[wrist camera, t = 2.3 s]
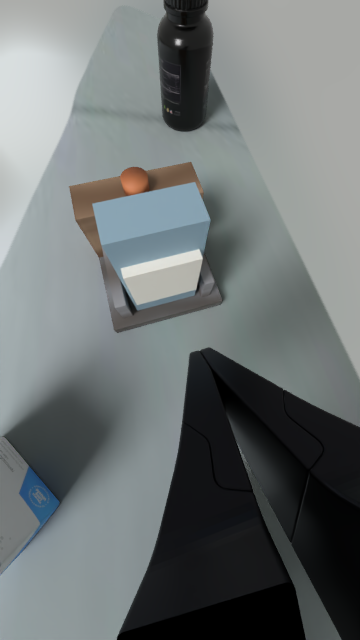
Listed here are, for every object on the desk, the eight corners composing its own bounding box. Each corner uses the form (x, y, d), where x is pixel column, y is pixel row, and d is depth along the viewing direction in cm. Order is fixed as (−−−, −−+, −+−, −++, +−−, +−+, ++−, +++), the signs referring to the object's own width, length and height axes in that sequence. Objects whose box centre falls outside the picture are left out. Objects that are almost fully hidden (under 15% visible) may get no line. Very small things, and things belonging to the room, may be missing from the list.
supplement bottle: (183, 98, 34) (187, -47, 22) (213, 118, 33) (234, -24, 21) (153, 117, 32) (140, -27, 21) (183, 139, 31) (188, -2, 20)
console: (220, 304, 24) (242, 266, 16) (117, 332, 22) (85, 307, 15) (187, 216, 27) (192, 148, 19) (96, 236, 26) (62, 174, 18)
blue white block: (196, 302, 22) (215, 230, 12) (139, 317, 22) (103, 257, 11) (186, 271, 23) (195, 181, 13) (131, 286, 23) (92, 203, 12)
